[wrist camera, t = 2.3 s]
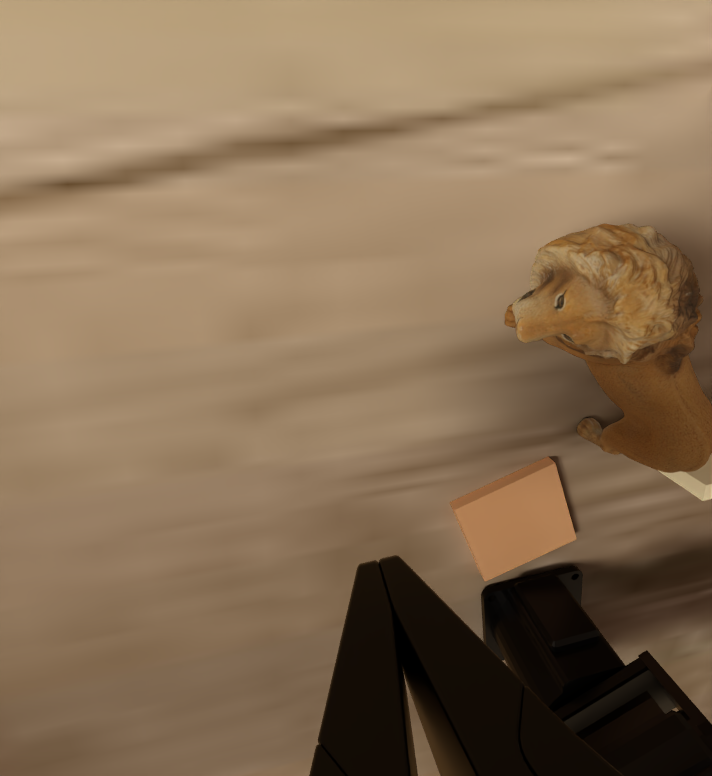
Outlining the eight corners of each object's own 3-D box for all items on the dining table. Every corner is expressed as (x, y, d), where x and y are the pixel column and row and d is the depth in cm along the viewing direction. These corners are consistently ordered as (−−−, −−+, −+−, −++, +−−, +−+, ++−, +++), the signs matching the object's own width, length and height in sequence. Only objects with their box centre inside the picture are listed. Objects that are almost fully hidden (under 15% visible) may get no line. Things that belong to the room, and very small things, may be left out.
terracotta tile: (564, 525, 26) (576, 539, 25) (476, 566, 26) (484, 581, 25) (542, 451, 24) (555, 462, 23) (446, 496, 24) (453, 510, 23)
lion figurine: (427, 283, 19) (540, 334, 10) (516, 186, 18) (717, 159, 10) (598, 458, 24) (763, 584, 16) (673, 391, 23) (890, 487, 15)
